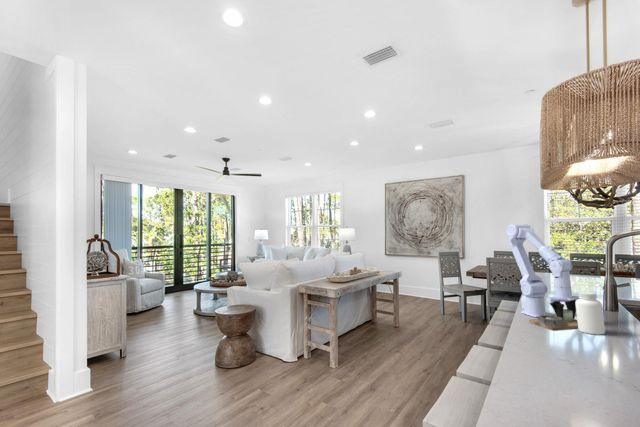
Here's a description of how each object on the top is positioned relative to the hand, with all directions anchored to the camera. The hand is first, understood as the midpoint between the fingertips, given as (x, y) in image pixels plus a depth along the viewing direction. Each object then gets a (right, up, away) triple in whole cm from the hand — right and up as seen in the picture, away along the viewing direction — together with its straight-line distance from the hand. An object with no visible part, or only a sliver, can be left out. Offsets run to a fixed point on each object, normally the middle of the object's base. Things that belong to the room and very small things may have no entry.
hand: (565, 318), depth 134 cm
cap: (0, 0, 0) cm, 0 cm away
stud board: (-5, -2, -3) cm, 6 cm away
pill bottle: (-1, -1, -13) cm, 13 cm away
